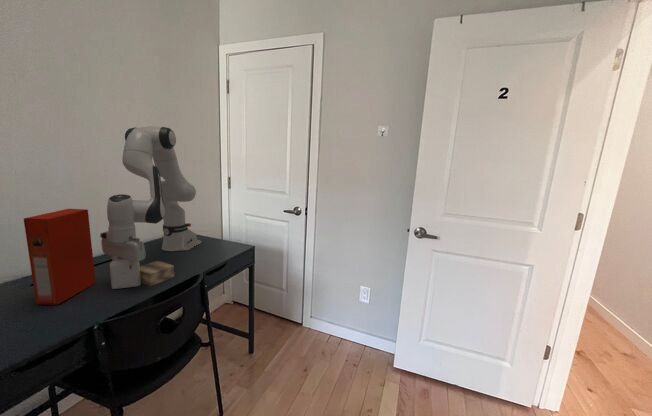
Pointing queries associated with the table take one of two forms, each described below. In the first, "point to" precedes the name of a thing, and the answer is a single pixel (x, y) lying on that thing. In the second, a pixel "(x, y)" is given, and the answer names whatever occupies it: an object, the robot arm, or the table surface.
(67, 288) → the file binder
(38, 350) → the table surface
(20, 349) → the table surface
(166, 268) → the oak box
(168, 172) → the robot arm
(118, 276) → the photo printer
